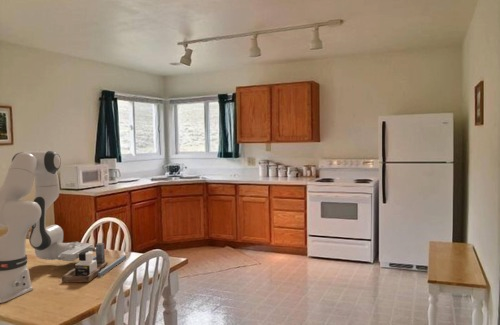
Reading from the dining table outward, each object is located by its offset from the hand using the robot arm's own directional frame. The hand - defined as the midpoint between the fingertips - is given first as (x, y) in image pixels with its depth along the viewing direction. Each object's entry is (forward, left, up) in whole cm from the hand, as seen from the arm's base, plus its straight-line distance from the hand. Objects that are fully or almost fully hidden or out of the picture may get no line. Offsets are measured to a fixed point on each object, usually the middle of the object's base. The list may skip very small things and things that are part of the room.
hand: (92, 252), depth 201 cm
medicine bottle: (-16, -6, -7) cm, 19 cm away
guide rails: (-1, -4, -7) cm, 8 cm away
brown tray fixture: (-11, -4, -7) cm, 14 cm away
